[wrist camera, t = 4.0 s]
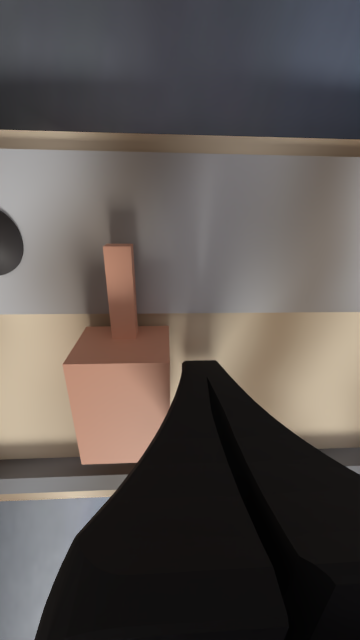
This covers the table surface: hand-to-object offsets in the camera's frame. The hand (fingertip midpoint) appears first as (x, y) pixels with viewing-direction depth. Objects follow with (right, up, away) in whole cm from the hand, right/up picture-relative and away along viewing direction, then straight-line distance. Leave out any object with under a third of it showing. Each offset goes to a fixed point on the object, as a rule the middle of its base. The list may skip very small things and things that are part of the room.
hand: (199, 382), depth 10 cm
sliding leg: (-3, +2, 0) cm, 3 cm away
